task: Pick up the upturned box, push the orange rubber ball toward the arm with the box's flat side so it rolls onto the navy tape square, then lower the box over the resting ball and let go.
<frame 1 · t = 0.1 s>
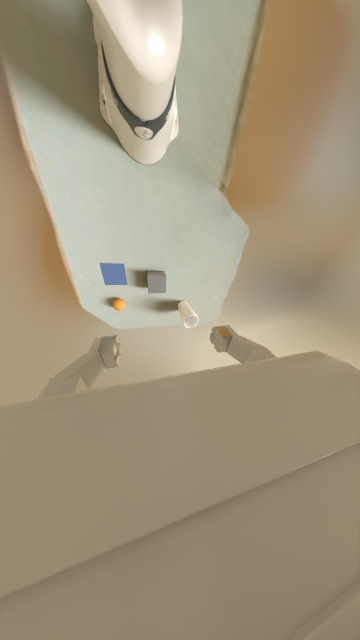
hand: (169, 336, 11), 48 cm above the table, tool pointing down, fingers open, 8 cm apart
tape mark: (114, 274, 50), on the table
ball: (119, 304, 55), on the table
box: (155, 279, 55), on the table
white cup: (182, 305, 65), on the table
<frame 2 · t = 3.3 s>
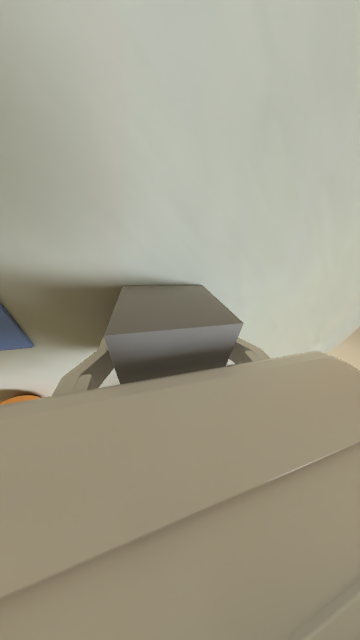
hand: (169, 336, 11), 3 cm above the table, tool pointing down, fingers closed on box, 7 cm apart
ball: (13, 423, 13), on the table
box: (165, 318, 13), on the table, touching gripper
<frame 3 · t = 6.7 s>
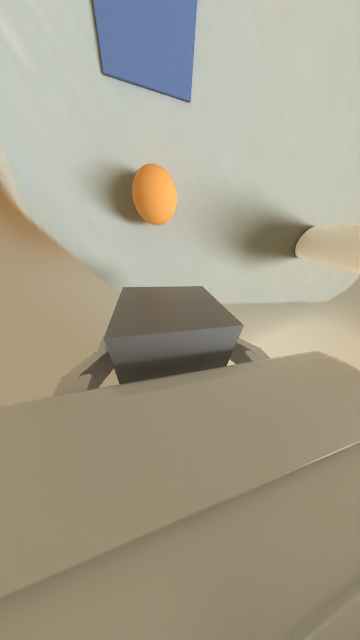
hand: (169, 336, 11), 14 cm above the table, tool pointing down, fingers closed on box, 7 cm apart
ball: (155, 198, 15), on the table
box: (165, 319, 13), point 12 cm above the table, touching gripper
white cup: (305, 242, 25), on the table
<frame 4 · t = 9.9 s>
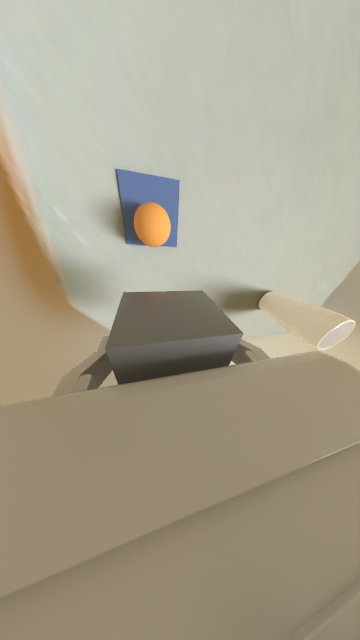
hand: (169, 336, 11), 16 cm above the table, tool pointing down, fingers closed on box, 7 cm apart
tape mark: (151, 214, 19), on the table
ball: (152, 226, 18), on the table
box: (165, 323, 13), point 14 cm above the table, touching gripper
white cup: (266, 299, 34), on the table
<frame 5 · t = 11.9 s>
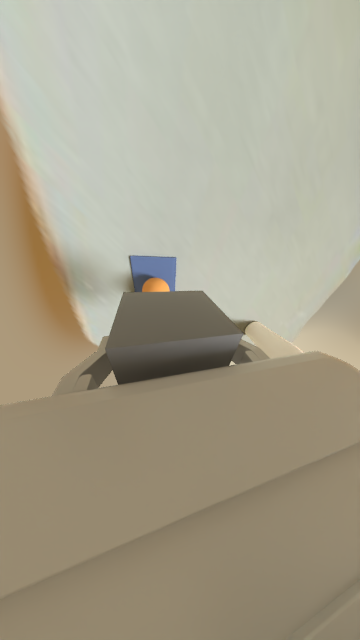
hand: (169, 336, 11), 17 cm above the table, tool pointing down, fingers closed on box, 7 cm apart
tape mark: (155, 279, 25), on the table
ball: (156, 291, 24), on the table
box: (165, 323, 13), point 15 cm above the table, touching gripper
white cup: (251, 327, 40), on the table
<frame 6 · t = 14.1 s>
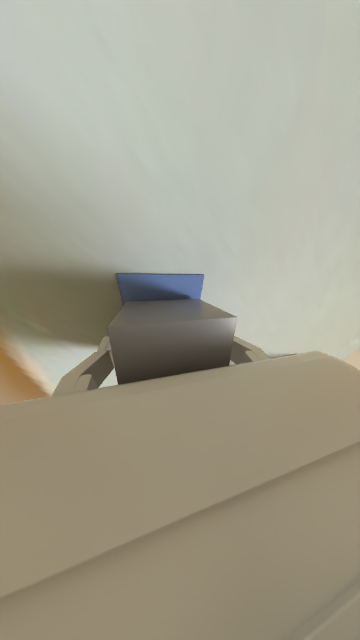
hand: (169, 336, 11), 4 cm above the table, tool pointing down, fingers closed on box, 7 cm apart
tape mark: (163, 311, 14), on the table
box: (165, 332, 14), point 2 cm above the table, tilted 15°, touching ball, gripper
when the fingers open (3 cm above the table, at t = 14.9 s): box drops 1 cm, on the table.
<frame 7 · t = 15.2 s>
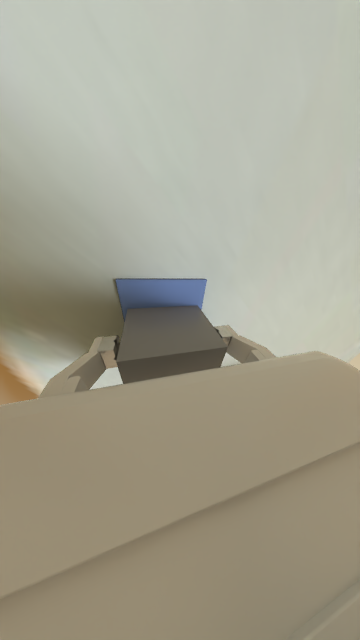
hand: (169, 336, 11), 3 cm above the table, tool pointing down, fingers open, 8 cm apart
tape mark: (164, 316, 14), on the table
box: (164, 332, 15), on the table
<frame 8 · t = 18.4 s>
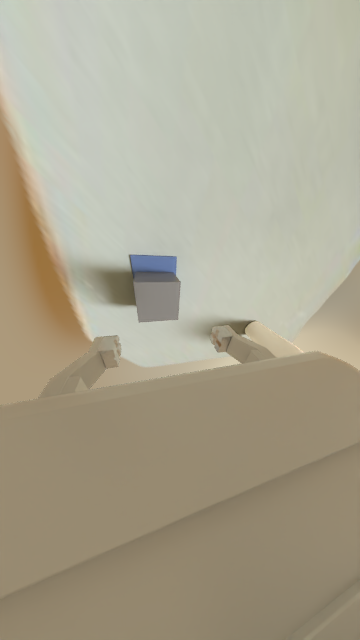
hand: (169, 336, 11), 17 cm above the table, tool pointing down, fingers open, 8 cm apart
tape mark: (155, 278, 25), on the table
box: (155, 289, 26), on the table
white cup: (251, 327, 40), on the table
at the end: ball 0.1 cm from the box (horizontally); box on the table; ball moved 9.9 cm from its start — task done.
